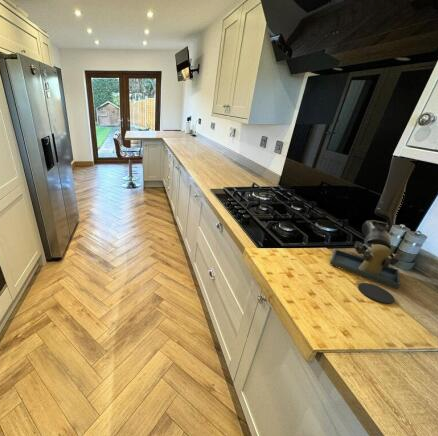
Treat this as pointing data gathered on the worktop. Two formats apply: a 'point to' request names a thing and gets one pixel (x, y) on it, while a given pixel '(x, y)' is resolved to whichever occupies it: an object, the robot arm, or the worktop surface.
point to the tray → (352, 264)
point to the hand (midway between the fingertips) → (376, 261)
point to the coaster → (376, 293)
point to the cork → (376, 259)
